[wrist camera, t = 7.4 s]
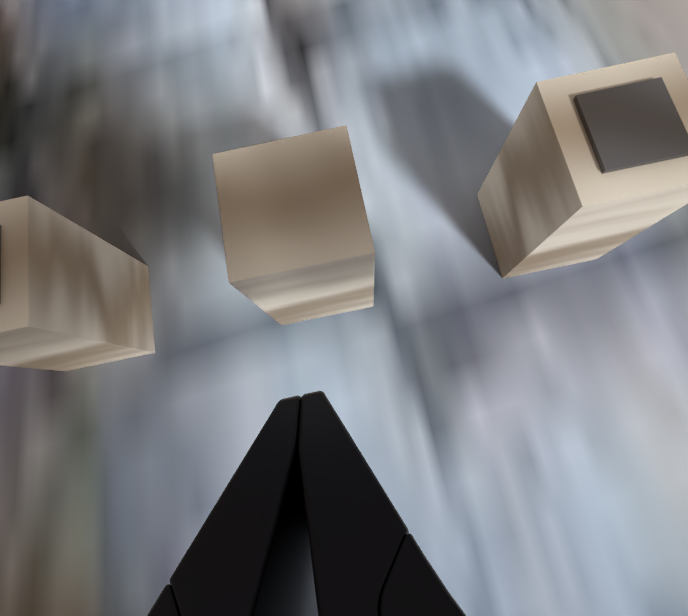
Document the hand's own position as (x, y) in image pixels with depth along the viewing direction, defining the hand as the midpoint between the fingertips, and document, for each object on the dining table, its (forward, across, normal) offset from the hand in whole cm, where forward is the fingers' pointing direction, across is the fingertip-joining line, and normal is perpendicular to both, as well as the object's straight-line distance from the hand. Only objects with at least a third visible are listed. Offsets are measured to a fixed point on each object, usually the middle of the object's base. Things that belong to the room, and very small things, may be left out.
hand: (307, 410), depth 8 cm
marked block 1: (+14, -12, +4) cm, 19 cm away
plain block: (+14, 0, +4) cm, 14 cm away
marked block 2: (+14, +12, +4) cm, 19 cm away
